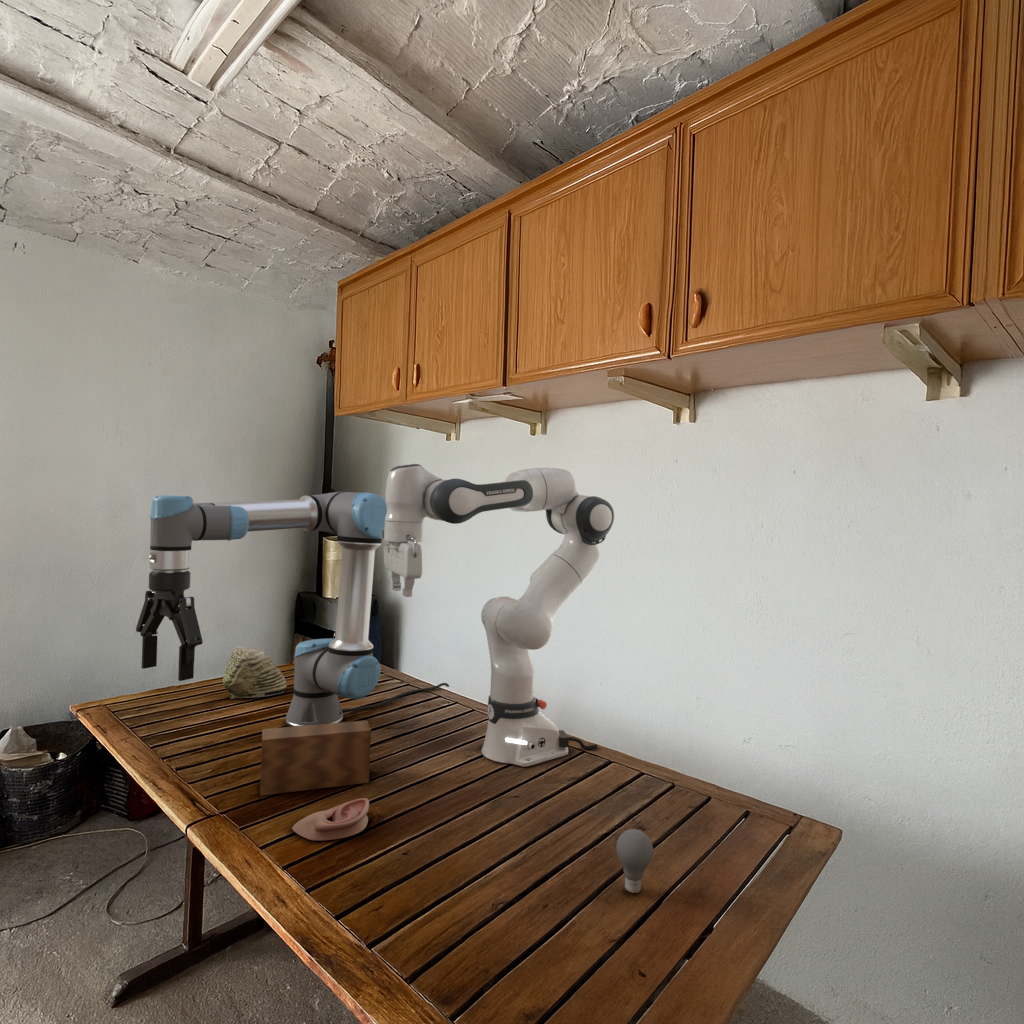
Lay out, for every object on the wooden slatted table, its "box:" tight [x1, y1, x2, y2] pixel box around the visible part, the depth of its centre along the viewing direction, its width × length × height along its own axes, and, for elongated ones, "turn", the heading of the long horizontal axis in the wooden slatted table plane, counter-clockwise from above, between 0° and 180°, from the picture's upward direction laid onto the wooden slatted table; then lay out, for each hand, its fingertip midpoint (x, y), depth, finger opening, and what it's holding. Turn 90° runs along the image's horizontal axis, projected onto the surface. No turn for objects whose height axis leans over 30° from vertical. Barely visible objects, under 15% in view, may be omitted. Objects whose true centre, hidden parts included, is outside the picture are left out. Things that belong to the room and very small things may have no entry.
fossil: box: [222, 646, 288, 699], centre depth 198 cm, size 9×18×15 cm, turn 132°
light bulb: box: [615, 828, 654, 894], centre depth 106 cm, size 6×6×10 cm
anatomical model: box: [291, 797, 370, 842], centre depth 122 cm, size 13×4×12 cm
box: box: [259, 720, 372, 796], centre depth 140 cm, size 23×6×12 cm, turn 111°
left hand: (167, 673), depth 130 cm, fingers open, 13 cm apart
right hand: (401, 593), depth 147 cm, fingers open, 8 cm apart
